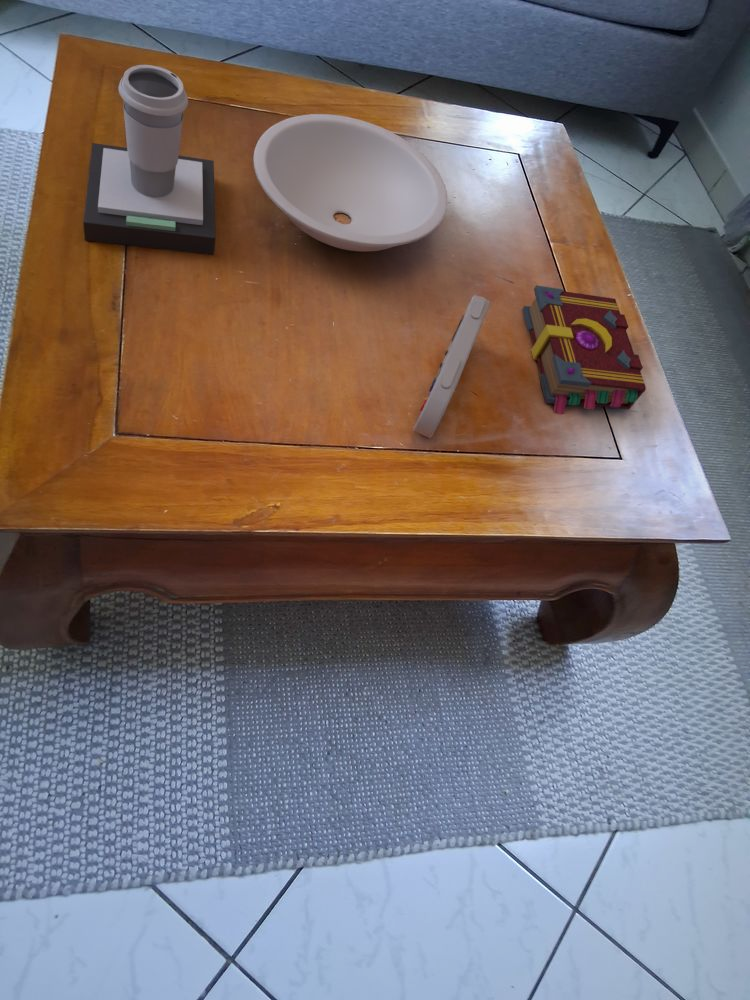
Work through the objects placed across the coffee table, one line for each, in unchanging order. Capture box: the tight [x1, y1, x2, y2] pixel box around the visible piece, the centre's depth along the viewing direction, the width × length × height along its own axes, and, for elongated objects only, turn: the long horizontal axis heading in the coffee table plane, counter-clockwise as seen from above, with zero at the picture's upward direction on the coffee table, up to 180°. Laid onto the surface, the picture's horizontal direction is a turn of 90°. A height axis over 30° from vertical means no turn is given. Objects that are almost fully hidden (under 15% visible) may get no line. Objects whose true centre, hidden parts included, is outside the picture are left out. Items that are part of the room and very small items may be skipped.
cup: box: [118, 64, 189, 197], centre depth 82 cm, size 7×7×12 cm
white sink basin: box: [252, 113, 448, 252], centre depth 95 cm, size 24×24×7 cm
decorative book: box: [522, 285, 647, 415], centre depth 92 cm, size 11×16×5 cm
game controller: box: [413, 294, 491, 439], centre depth 83 cm, size 20×2×8 cm, turn 160°
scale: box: [82, 142, 216, 256], centre depth 88 cm, size 14×14×3 cm
